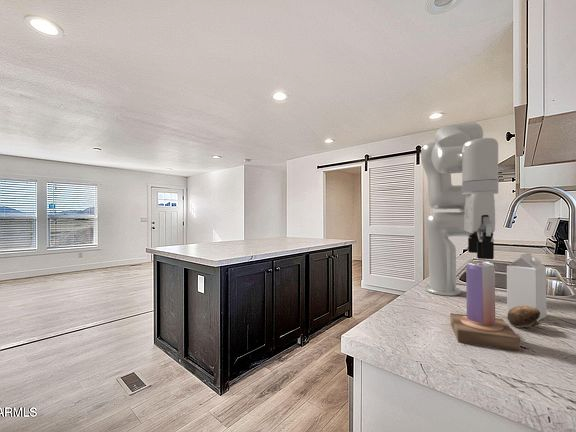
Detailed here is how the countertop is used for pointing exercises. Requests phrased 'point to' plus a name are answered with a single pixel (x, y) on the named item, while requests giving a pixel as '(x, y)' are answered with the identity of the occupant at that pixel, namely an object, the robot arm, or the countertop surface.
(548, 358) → the countertop surface
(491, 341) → the walnut base
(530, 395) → the countertop surface
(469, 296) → the beverage can
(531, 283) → the milk carton
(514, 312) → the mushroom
